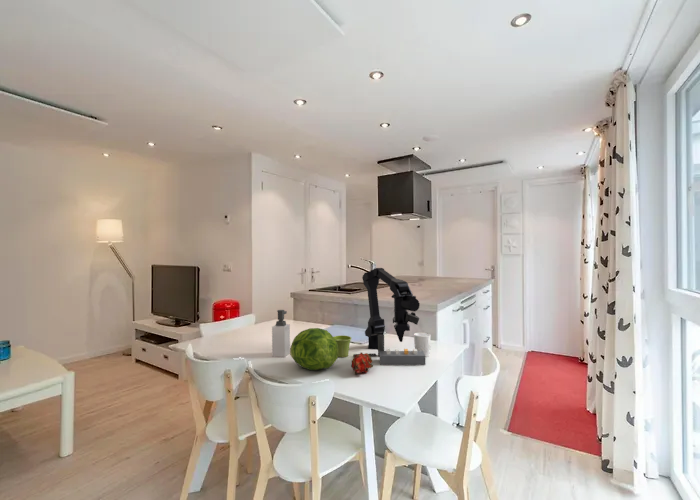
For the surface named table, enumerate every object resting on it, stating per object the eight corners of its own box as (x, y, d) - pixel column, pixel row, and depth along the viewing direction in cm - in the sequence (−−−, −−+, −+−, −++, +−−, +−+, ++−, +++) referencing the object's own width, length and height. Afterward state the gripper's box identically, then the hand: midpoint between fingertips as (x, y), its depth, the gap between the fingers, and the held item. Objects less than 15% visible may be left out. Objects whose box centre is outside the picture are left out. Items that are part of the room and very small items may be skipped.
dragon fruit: (370, 371, 144) (357, 385, 134) (356, 357, 147) (341, 370, 137) (380, 358, 141) (366, 371, 130) (364, 344, 144) (350, 356, 133)
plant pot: (354, 354, 163) (354, 336, 163) (346, 359, 155) (346, 341, 155) (337, 351, 167) (337, 334, 167) (328, 357, 159) (328, 339, 159)
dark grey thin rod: (353, 357, 158) (353, 354, 158) (353, 356, 160) (352, 353, 160) (376, 356, 159) (376, 353, 159) (376, 355, 161) (375, 353, 161)
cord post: (378, 356, 159) (377, 335, 159) (378, 354, 162) (377, 334, 162) (384, 356, 158) (384, 335, 158) (384, 354, 161) (383, 334, 161)
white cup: (431, 358, 156) (430, 336, 156) (414, 357, 157) (413, 336, 157) (430, 353, 163) (430, 332, 163) (414, 352, 165) (413, 332, 165)
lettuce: (307, 338, 163) (282, 322, 150) (347, 335, 151) (323, 318, 139) (298, 376, 152) (271, 362, 140) (340, 376, 140) (314, 361, 128)
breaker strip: (380, 364, 148) (379, 352, 148) (379, 359, 155) (379, 347, 155) (425, 364, 146) (425, 352, 146) (422, 359, 153) (422, 347, 153)
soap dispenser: (291, 351, 168) (291, 308, 168) (284, 357, 160) (284, 311, 160) (279, 351, 170) (279, 308, 170) (272, 356, 161) (271, 311, 161)
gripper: (421, 311, 145) (421, 347, 145) (414, 305, 164) (415, 336, 164) (395, 312, 146) (396, 347, 146) (392, 305, 164) (392, 336, 164)
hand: (400, 341), depth 155 cm, fingers closed
